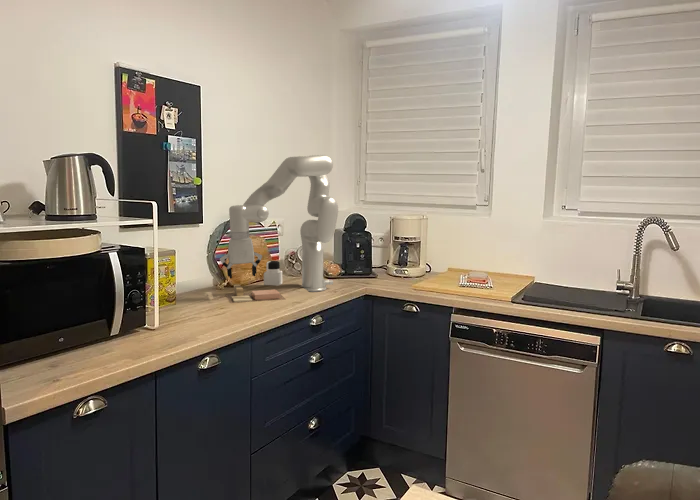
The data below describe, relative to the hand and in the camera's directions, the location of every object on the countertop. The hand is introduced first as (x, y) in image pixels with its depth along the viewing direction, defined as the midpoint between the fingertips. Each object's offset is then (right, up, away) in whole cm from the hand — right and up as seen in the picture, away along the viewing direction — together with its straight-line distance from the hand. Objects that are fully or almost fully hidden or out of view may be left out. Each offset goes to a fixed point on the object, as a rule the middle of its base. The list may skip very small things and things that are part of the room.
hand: (242, 276), depth 216 cm
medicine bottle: (+9, -6, +26) cm, 28 cm away
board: (+6, -10, -2) cm, 11 cm away
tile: (+9, -7, +1) cm, 11 cm away
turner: (0, -8, -3) cm, 9 cm away
